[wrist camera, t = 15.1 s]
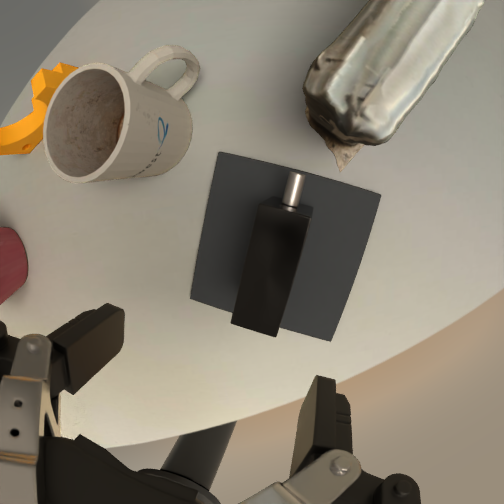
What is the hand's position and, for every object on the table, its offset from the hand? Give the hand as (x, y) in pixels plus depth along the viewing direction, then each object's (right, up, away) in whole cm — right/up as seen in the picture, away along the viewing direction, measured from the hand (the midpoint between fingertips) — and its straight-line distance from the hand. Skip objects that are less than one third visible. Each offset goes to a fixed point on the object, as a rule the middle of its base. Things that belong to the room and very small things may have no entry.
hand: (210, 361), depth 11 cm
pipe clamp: (-22, +21, +17) cm, 35 cm away
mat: (+4, +4, +16) cm, 17 cm away
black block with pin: (+4, +5, +15) cm, 16 cm away
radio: (+14, +21, +9) cm, 27 cm away
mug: (-6, +16, +15) cm, 23 cm away
